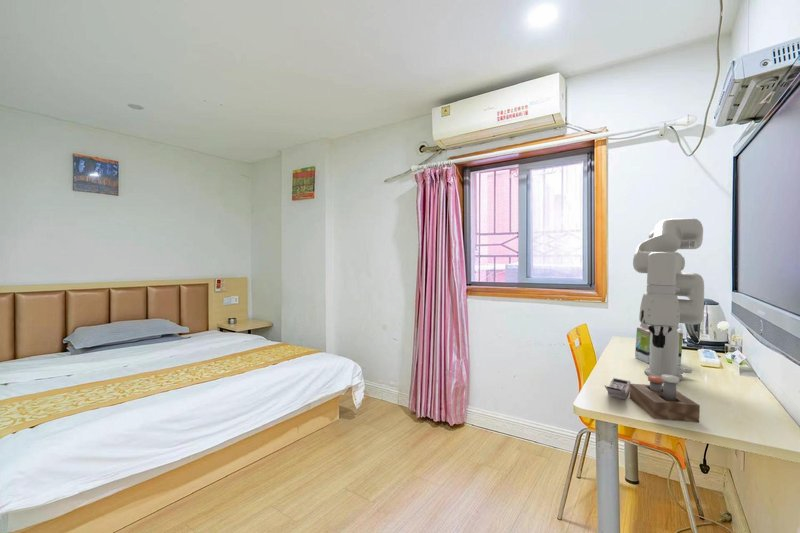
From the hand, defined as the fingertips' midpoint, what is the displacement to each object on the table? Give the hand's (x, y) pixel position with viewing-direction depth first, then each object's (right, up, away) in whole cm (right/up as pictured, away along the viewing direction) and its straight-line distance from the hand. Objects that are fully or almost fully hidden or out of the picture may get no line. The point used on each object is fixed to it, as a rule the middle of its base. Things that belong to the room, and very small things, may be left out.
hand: (658, 346), depth 119 cm
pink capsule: (0, -17, +1) cm, 18 cm away
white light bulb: (-1, -15, -7) cm, 16 cm away
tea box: (+36, -18, +52) cm, 66 cm away
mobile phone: (-7, -19, +11) cm, 23 cm away
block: (-1, -19, -3) cm, 19 cm away
